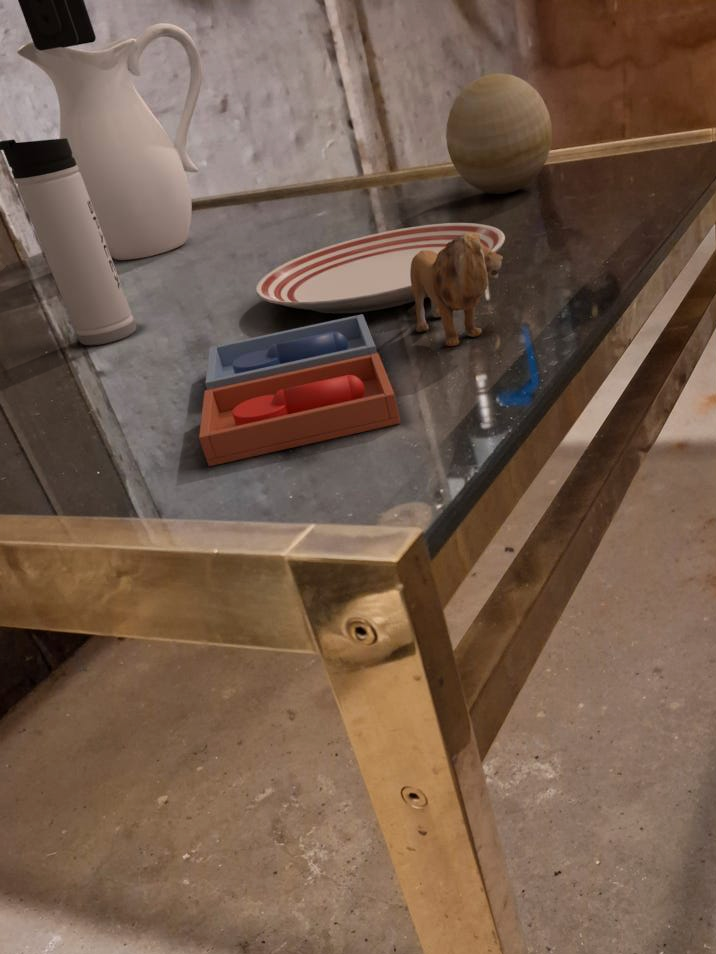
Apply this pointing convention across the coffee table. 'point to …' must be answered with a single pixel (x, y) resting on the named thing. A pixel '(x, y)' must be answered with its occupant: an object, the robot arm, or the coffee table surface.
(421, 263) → the lion figurine
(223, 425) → the red tray
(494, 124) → the decorative ball
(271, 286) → the dinner plate
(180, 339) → the coffee table surface
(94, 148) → the pitcher
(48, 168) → the travel mug
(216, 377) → the blue tray
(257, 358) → the blue spoon
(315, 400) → the red spoon
